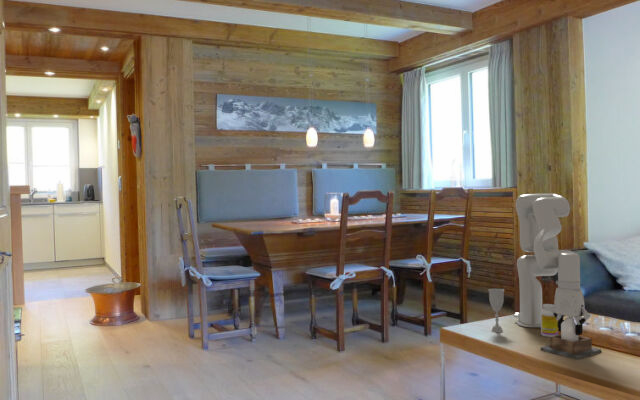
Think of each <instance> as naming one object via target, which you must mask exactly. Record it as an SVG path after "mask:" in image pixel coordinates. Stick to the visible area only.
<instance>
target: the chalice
mask: <svg viewBox="0 0 640 400" xmlns="http://www.w3.org/2000/svg"><path fill="white" fill-rule="evenodd" d="M487 291H488V292H489V293H488V298H489V304H490V306H491V308H492V310H493V311H495V314H494V316H495V319H494V321H495V324H494V325H493V326H492V328H491V330H490V331H491V332H492V333H503V332H504V329H503V328H502V326H501V325H499V321H500V319H499V312H500V311H501V309H502V308H503V304H504V302H505V301H504V300H505V299H504V298H505V297H504V295H505V294H504V292H505V289H504V288H489V289H488V288H487Z"/></svg>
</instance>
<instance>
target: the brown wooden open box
mask: <svg viewBox="0 0 640 400" xmlns="http://www.w3.org/2000/svg"><path fill="white" fill-rule="evenodd" d="M592 343H593V341H592V338H591V337H587V336H583V335H578V341H575V342H573V341H568V340H564V339H561V333H560V334H558V335H556V336H552V337H549V344H548V345H544V346H541V347H540V350H541V351H544V352H548V353H552V354H555V355H559V356H563V357H566V358H571V359H574V360H581V359H583V358H587V357H591V356H593V355H597V354H599V353H602V349H601V348H598V347H597V348H596V347H593V345H592Z"/></svg>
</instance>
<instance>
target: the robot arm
mask: <svg viewBox="0 0 640 400" xmlns="http://www.w3.org/2000/svg"><path fill="white" fill-rule="evenodd" d="M515 210H516V214H517V217H518V221H519V244H520V246H519V247H520V249H521V250H522V251H523V252H525V253H526V252H527V253H534V254H527V255H526V254H525V255H521V256H520V257H519V258H517V261H516V269H517V272H518V273H517V274H518V281H519V282H518V284H519V286H518V287H519V312H514V314H513V318H516V319H517V321H516V325H518V326H520V327H525V328H532V329H533V328H534V329H535V328H536V329H538V328H540V329H541V311H542V310H543V286H542V283H541V282H540V281H539V280H538V279H537V277H551V276H555V275H557V280H556V281H555V285H557V287H556V288H555V294H554V300H553V303H554V304H553V305H554V306H553V307H552V308H551V309H550V310H551V312H552V313H553V315H554V316H555V317H556V320H557V321H558V332H561V323H562V322H563V321H564V320H565V317H573V318H574V321H575V324H576V325H575V330H576V335H578V336H582V335H583V331H584V328H583V326H584V324H585V322H587V320H589V319H590V318H591V314H590V313H589V312H588V311H587V310H586V309H585V297H584V294H583V293H584V292H583V290H582V289H581V262H580V261H581V259H580V255H579V254H578V253H576V252H574V251H572V250H569V249H559V241H558V236H557V235H558V234H560V233H561V232H562V227H563V226H562V224H561V221H560V219H559V218H564V217H565V218H566V217H568V216H569V214H570V211H571V206H570V203H569V201H568V199H567V198H566V197H564V196H562V195H559V194H557V193H527V194H521V195H519V196H518V197H517V198H516V200H515Z"/></svg>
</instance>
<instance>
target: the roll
mask: <svg viewBox="0 0 640 400" xmlns="http://www.w3.org/2000/svg"><path fill="white" fill-rule="evenodd" d="M563 320H564V321H563V322H562V323H561V331H560V334H561V339H564V340H568V341H573V342H575V341H578V336H579V335H576V330H575V325H576V324H577V323H576V321H575V318H574V317H569V316H566V318H564V319H563Z"/></svg>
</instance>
